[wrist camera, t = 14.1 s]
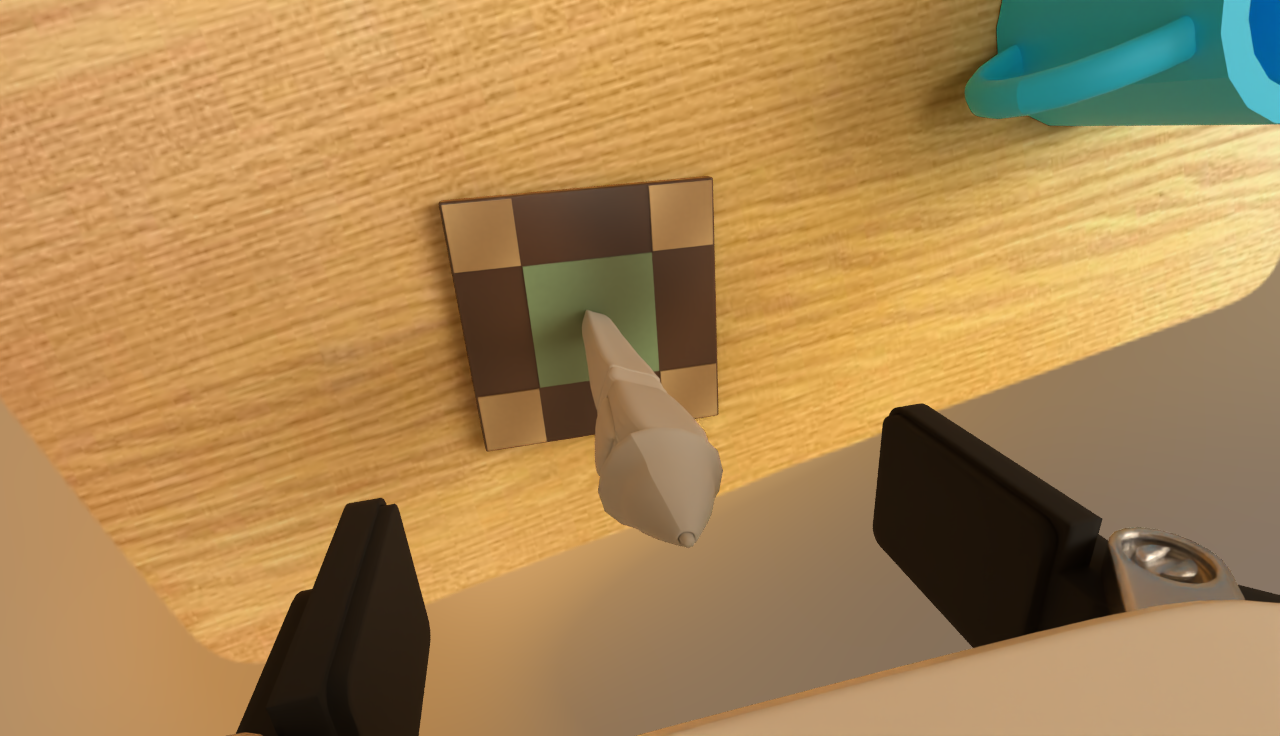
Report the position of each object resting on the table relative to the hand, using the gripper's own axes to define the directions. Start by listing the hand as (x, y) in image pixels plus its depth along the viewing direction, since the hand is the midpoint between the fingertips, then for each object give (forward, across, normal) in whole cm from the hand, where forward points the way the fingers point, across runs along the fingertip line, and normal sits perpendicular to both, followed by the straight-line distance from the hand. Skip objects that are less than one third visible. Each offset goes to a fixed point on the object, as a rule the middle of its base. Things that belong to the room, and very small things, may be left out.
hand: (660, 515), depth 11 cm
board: (+14, -1, 0) cm, 14 cm away
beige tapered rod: (+13, -1, 0) cm, 13 cm away
